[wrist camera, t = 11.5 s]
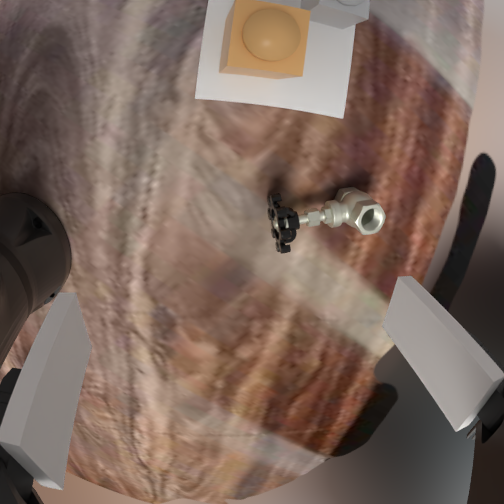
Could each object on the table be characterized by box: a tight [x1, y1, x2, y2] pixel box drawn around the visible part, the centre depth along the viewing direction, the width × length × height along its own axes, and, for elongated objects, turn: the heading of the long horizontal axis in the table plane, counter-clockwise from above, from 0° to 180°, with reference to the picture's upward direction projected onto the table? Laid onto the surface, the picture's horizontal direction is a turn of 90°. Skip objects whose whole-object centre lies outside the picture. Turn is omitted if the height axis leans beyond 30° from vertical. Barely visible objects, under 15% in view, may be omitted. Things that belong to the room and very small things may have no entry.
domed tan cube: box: [219, 0, 311, 80], centre depth 24 cm, size 6×6×9 cm
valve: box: [267, 187, 386, 254], centre depth 35 cm, size 7×7×12 cm
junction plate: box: [195, 0, 356, 119], centre depth 25 cm, size 16×16×6 cm
